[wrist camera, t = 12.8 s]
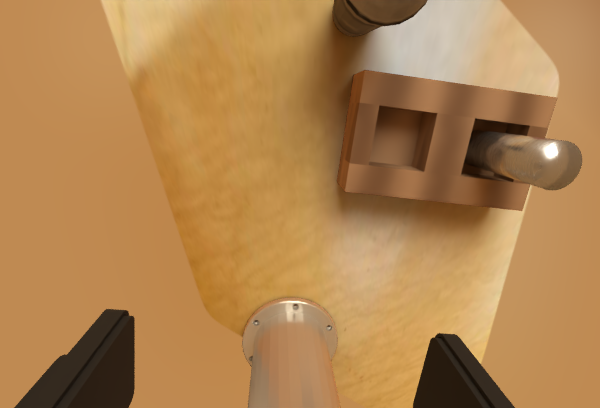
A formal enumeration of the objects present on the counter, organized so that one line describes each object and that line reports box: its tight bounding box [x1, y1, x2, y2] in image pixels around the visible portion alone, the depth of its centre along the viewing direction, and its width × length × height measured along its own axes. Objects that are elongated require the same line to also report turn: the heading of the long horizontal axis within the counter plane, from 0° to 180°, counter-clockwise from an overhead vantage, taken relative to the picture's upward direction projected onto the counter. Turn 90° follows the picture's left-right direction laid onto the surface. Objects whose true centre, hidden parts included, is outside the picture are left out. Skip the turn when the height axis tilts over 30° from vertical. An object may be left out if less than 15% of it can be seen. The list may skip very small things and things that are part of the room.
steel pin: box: [464, 130, 582, 190], centre depth 33 cm, size 4×4×12 cm
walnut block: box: [337, 70, 557, 211], centre depth 37 cm, size 20×12×5 cm, turn 83°
